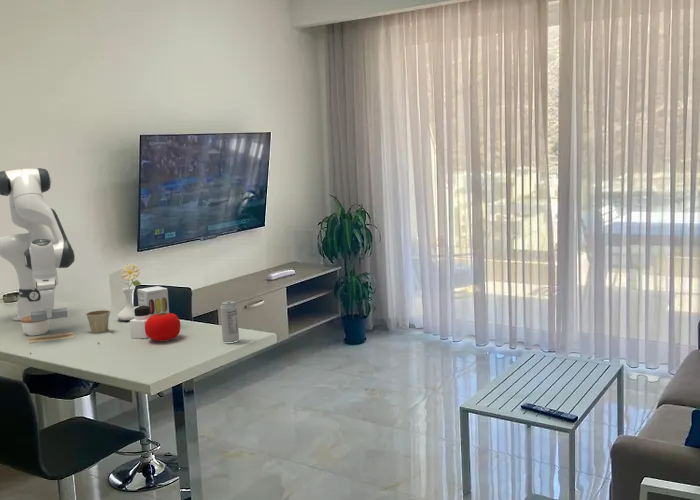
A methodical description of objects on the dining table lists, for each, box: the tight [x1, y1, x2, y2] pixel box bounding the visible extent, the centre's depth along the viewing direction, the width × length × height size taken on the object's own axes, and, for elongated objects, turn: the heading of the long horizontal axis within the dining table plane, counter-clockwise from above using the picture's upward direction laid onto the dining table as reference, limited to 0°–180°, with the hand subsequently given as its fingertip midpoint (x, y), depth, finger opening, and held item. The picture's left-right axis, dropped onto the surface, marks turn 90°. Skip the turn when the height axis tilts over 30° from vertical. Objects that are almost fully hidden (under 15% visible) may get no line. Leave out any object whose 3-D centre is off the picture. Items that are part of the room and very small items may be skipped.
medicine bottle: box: [129, 305, 150, 339], centre depth 262 cm, size 7×7×12 cm
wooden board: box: [28, 331, 74, 344], centre depth 263 cm, size 10×16×1 cm, turn 116°
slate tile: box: [31, 307, 68, 322], centre depth 263 cm, size 6×13×2 cm, turn 116°
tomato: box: [145, 312, 181, 342], centre depth 256 cm, size 14×13×10 cm
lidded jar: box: [20, 315, 51, 337], centre depth 271 cm, size 11×11×9 cm
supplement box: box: [137, 285, 170, 317], centre depth 273 cm, size 10×9×17 cm
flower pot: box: [85, 309, 111, 334], centre depth 270 cm, size 9×9×9 cm
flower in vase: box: [116, 262, 142, 321], centre depth 291 cm, size 13×11×25 cm
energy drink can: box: [219, 300, 240, 342], centre depth 247 cm, size 6×6×15 cm
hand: (49, 315), depth 263 cm, fingers closed on slate tile, 6 cm apart
